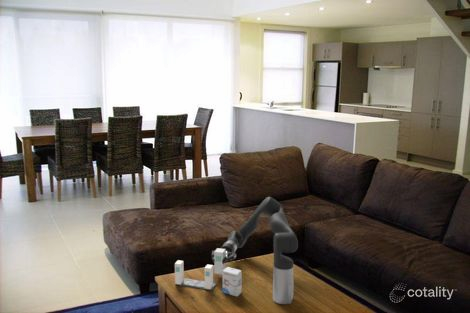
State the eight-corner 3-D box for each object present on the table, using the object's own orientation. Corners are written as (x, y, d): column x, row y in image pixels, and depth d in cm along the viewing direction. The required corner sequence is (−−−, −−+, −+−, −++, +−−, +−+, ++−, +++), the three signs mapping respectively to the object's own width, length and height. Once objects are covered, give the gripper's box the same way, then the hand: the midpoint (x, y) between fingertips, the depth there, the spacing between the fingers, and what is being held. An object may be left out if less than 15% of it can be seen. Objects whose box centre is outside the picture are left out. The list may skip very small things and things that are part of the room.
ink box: (221, 292, 213) (221, 270, 210) (226, 288, 217) (226, 266, 215) (237, 297, 209) (237, 274, 206) (241, 292, 213) (242, 270, 211)
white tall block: (225, 270, 230) (225, 249, 228) (222, 274, 225) (222, 252, 223) (217, 269, 231) (217, 248, 229) (214, 273, 226) (214, 251, 224)
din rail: (216, 284, 220) (216, 283, 220) (212, 290, 215) (212, 288, 215) (180, 279, 226) (180, 277, 226) (175, 284, 221) (175, 282, 220)
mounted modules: (213, 285, 217) (213, 265, 215) (210, 289, 214) (210, 268, 212) (178, 280, 223) (178, 260, 221) (175, 283, 219) (174, 263, 217)
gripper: (216, 241, 242) (205, 252, 226) (240, 244, 238) (231, 256, 222) (216, 254, 243) (205, 266, 227) (240, 257, 239) (231, 270, 223)
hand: (218, 261), depth 224 cm, fingers closed on white tall block, 4 cm apart
